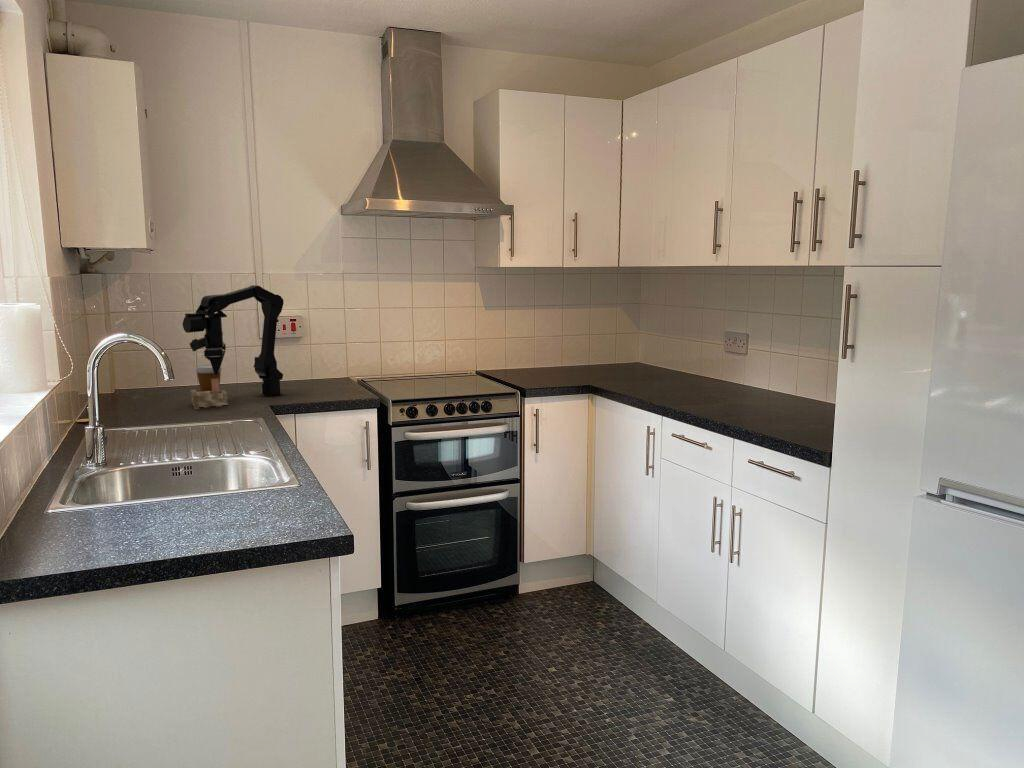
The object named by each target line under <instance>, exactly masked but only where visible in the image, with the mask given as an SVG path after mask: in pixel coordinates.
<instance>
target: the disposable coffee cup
mask: <svg viewBox="0 0 1024 768" xmlns="http://www.w3.org/2000/svg"><path fill="white" fill-rule="evenodd" d="M195 372H196V375H197V379H198V385H199V389H200V392H203V391H212V383H211V379H215V378H217V379H219V390H221V389H220V387H221V373H222V366H221V367H220V370H219V371H218V374H214V371H213V368H212V365H211V364H202V365H197V366H196V368H195Z"/></svg>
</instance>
